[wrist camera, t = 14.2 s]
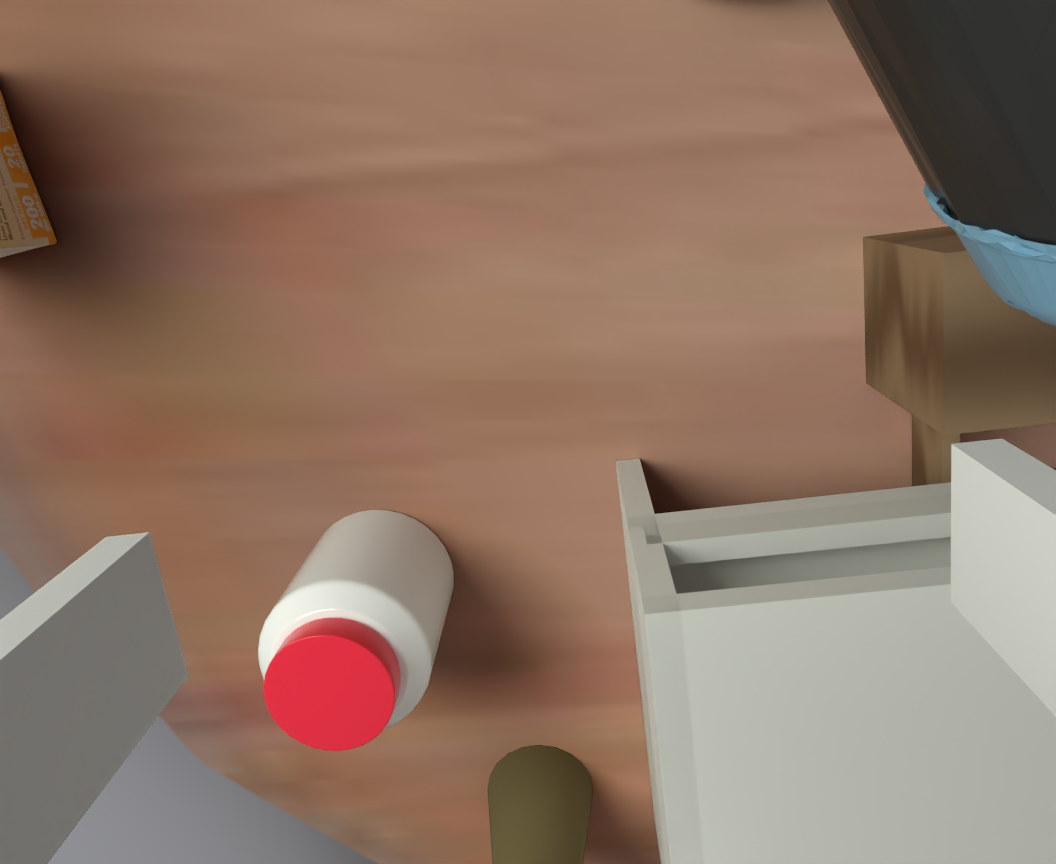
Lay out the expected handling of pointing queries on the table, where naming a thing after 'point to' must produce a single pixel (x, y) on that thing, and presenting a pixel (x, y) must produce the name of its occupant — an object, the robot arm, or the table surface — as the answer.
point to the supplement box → (19, 197)
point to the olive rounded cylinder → (539, 807)
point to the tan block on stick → (950, 346)
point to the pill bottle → (356, 630)
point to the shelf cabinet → (827, 688)
